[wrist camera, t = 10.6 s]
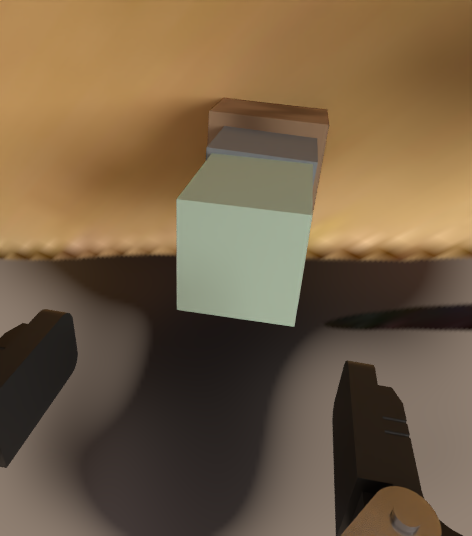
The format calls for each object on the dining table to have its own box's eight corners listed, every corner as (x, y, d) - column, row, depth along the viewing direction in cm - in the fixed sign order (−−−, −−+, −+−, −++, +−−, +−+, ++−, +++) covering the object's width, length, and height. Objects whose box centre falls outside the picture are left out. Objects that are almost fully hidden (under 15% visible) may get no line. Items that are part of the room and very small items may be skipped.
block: (312, 163, 21) (312, 215, 16) (299, 254, 24) (294, 326, 18) (211, 153, 22) (176, 199, 16) (208, 242, 24) (176, 309, 19)
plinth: (327, 109, 29) (329, 124, 25) (309, 206, 33) (308, 234, 29) (224, 97, 30) (209, 110, 26) (218, 194, 33) (203, 220, 29)
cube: (317, 138, 25) (317, 162, 21) (301, 224, 28) (299, 261, 24) (224, 126, 26) (206, 147, 22) (217, 211, 29) (200, 245, 24)
